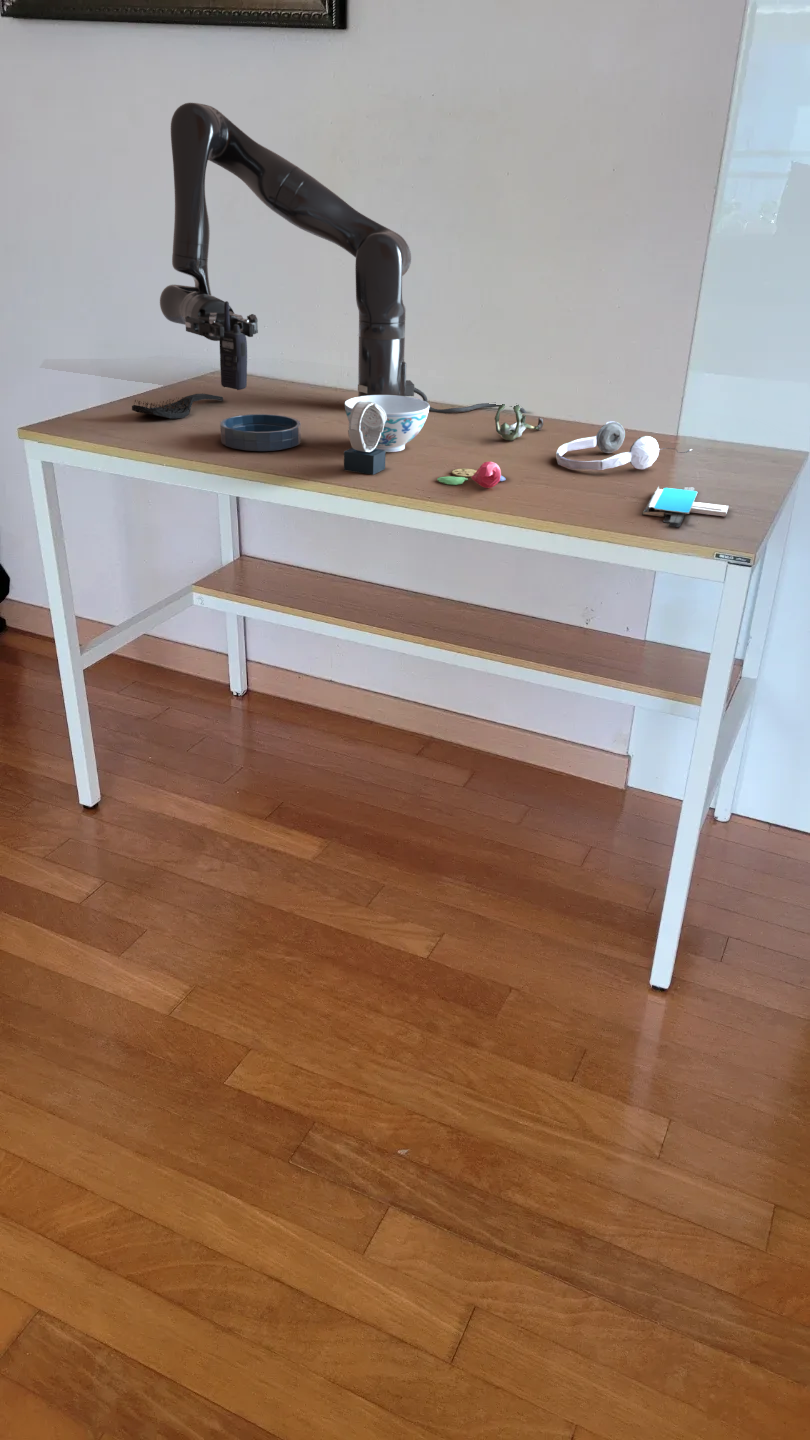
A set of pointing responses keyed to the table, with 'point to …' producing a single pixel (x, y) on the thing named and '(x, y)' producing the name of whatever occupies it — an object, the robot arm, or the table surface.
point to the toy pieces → (476, 475)
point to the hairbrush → (174, 406)
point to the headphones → (611, 450)
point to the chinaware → (395, 419)
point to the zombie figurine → (514, 425)
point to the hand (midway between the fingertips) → (236, 331)
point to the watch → (361, 453)
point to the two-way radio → (233, 355)
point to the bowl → (260, 432)
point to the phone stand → (679, 505)
